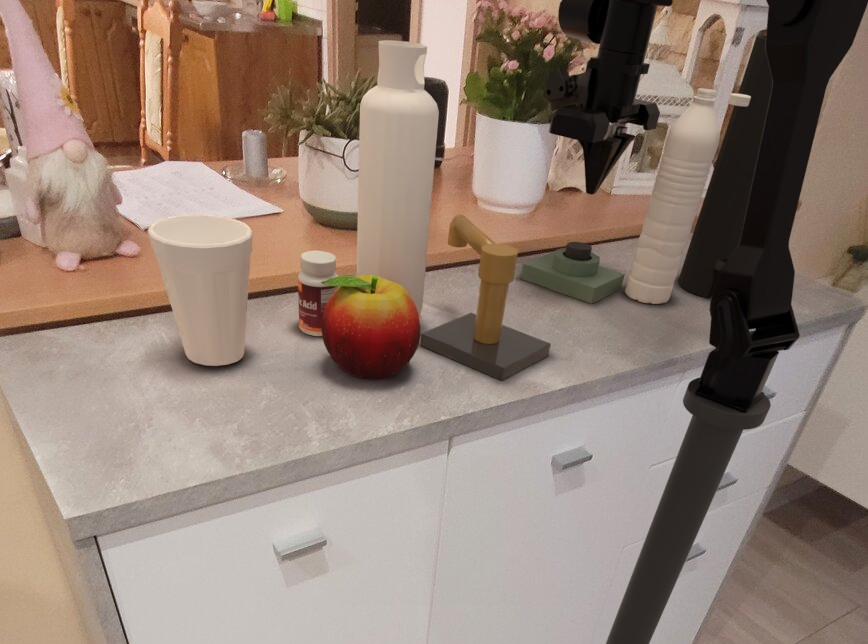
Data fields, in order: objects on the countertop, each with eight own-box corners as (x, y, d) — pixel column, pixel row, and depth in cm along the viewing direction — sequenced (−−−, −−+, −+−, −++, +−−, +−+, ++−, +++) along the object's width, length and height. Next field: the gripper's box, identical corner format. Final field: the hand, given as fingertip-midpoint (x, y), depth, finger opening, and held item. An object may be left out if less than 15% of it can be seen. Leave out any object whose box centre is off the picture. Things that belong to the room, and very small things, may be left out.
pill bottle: (291, 326, 87) (288, 253, 81) (321, 318, 89) (321, 246, 84) (315, 340, 84) (314, 266, 79) (346, 331, 87) (347, 258, 81)
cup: (280, 354, 81) (273, 229, 72) (219, 386, 74) (203, 253, 66) (212, 330, 84) (198, 207, 75) (148, 358, 78) (124, 228, 69)
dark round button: (593, 259, 104) (596, 246, 102) (581, 264, 101) (584, 251, 100) (572, 252, 105) (574, 239, 104) (559, 257, 103) (562, 244, 102)
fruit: (426, 389, 78) (435, 295, 71) (326, 391, 76) (325, 294, 69) (407, 346, 85) (414, 258, 78) (316, 347, 83) (314, 256, 76)
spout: (518, 287, 80) (523, 255, 78) (485, 288, 79) (489, 256, 77) (468, 241, 91) (472, 211, 88) (439, 241, 89) (441, 211, 87)
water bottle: (616, 294, 104) (671, 85, 87) (637, 284, 108) (695, 82, 91) (670, 313, 100) (739, 98, 83) (690, 302, 104) (760, 95, 87)
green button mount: (621, 289, 106) (628, 260, 103) (591, 304, 100) (598, 274, 98) (552, 266, 111) (558, 238, 108) (520, 279, 106) (525, 250, 103)
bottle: (407, 346, 85) (429, 53, 66) (345, 332, 87) (348, 41, 68) (429, 322, 91) (454, 46, 72) (369, 309, 93) (379, 35, 73)
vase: (671, 273, 113) (746, 32, 93) (734, 279, 113) (823, 41, 93) (686, 297, 106) (771, 41, 85) (754, 304, 106) (855, 50, 85)
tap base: (548, 355, 87) (563, 284, 81) (501, 380, 81) (514, 305, 75) (469, 324, 92) (478, 254, 86) (420, 345, 86) (426, 272, 80)
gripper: (601, 38, 96) (574, 170, 106) (525, 41, 85) (503, 189, 95) (677, 52, 91) (641, 189, 102) (608, 57, 80) (575, 210, 91)
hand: (590, 193), depth 97 cm, fingers closed
